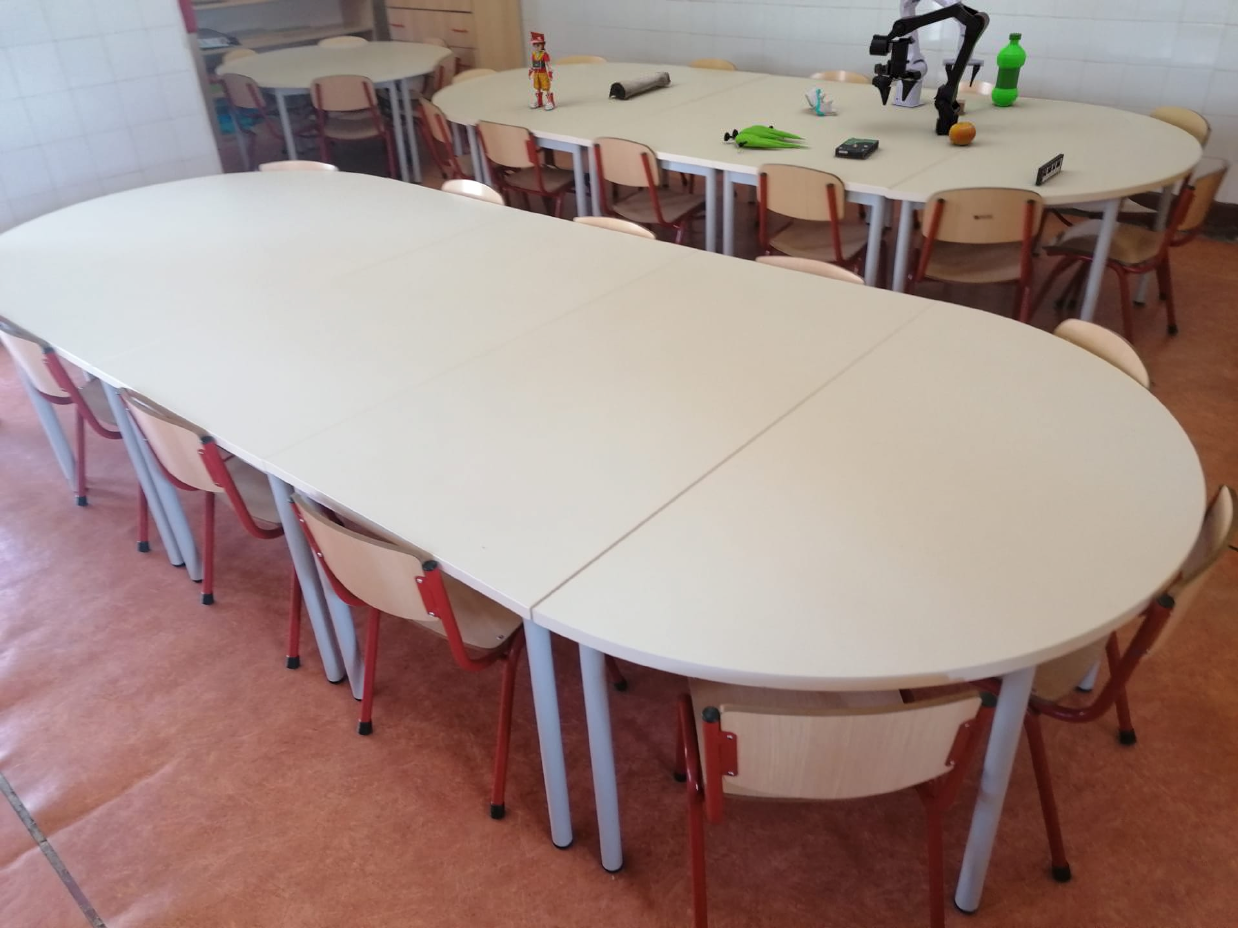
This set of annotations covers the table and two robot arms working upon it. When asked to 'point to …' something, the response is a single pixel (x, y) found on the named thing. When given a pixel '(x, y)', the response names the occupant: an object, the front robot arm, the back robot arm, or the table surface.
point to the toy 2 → (761, 137)
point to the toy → (541, 71)
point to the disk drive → (856, 148)
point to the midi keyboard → (1049, 169)
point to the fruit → (962, 133)
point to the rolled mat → (638, 84)
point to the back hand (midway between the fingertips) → (959, 86)
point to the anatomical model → (819, 102)
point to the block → (962, 104)
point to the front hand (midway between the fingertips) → (893, 103)
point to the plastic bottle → (1008, 71)
